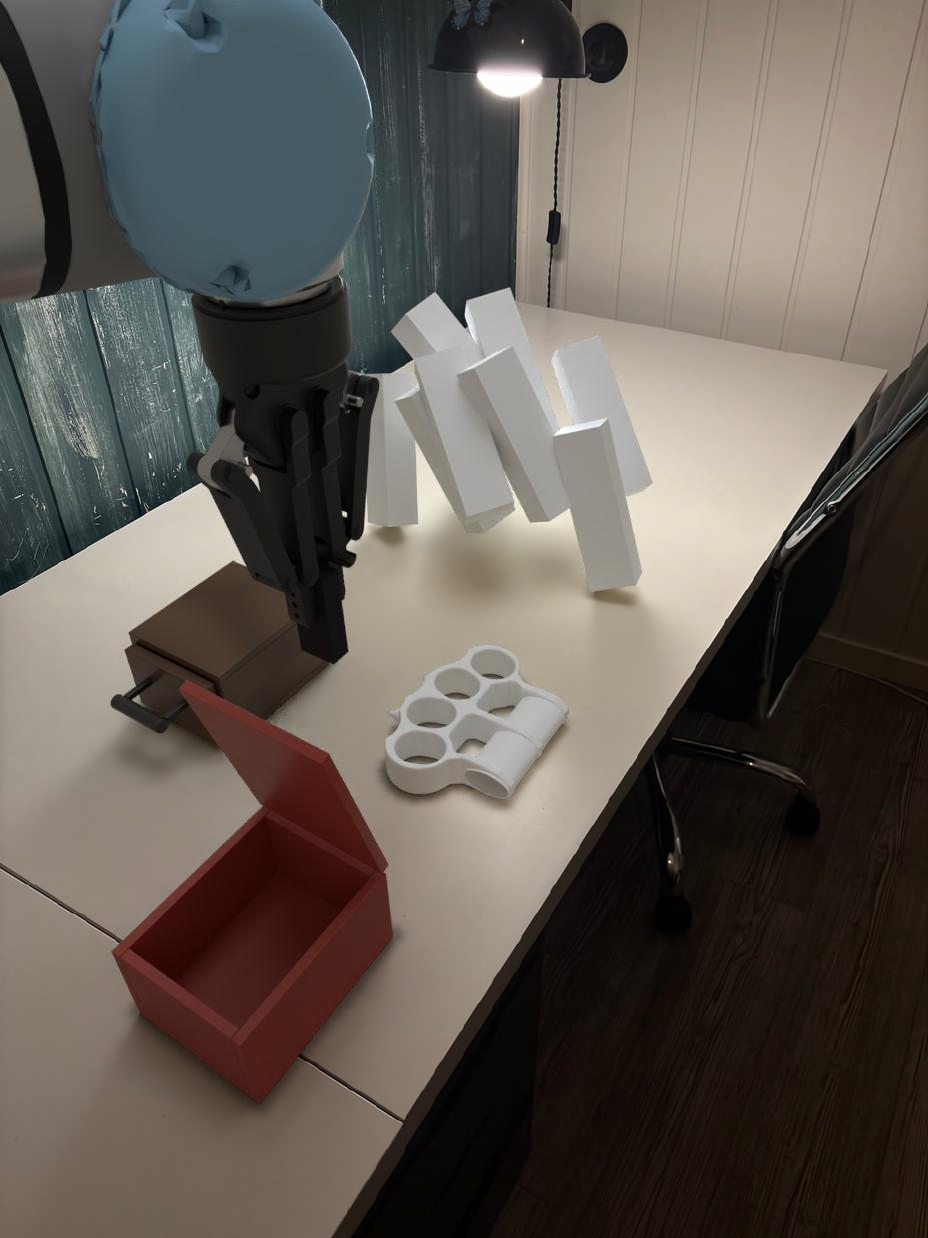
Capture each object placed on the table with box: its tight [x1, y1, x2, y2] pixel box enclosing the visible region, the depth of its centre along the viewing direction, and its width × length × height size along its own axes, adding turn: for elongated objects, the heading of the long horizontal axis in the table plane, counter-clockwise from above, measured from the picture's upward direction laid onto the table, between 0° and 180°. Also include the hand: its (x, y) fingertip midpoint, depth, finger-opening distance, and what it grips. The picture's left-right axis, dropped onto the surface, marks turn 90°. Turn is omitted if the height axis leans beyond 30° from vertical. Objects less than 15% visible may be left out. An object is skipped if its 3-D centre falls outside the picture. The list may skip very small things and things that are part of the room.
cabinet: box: [128, 560, 330, 721], centre depth 89 cm, size 14×12×9 cm
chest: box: [110, 805, 394, 1104], centre depth 65 cm, size 15×12×8 cm
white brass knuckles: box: [384, 644, 570, 800], centre depth 85 cm, size 3×18×15 cm
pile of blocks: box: [364, 287, 654, 593], centre depth 107 cm, size 35×30×35 cm
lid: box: [179, 680, 389, 873], centre depth 61 cm, size 16×12×1 cm
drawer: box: [109, 643, 218, 745], centre depth 87 cm, size 17×10×7 cm, turn 147°
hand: (324, 650), depth 59 cm, fingers closed
